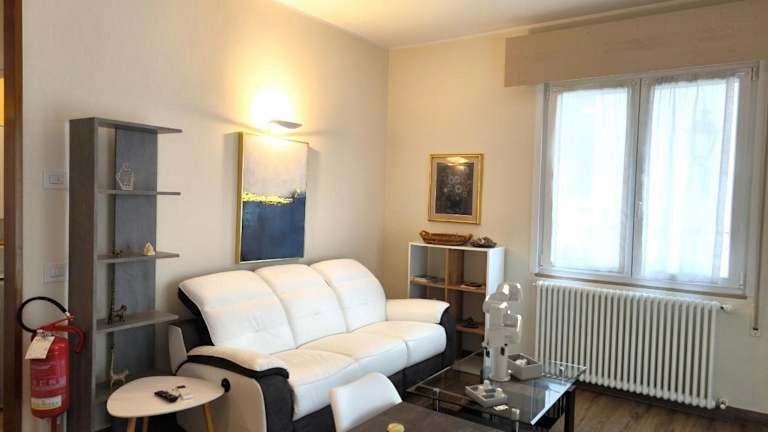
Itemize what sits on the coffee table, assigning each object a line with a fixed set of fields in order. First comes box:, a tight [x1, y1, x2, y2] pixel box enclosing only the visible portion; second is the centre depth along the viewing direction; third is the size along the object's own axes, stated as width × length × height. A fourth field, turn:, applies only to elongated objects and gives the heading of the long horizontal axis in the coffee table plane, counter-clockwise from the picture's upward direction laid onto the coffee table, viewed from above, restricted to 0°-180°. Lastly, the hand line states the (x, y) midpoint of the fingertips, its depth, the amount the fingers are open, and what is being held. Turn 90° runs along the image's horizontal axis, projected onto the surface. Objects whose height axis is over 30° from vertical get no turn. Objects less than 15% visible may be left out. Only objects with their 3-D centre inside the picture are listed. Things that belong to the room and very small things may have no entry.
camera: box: [515, 352, 528, 366], centre depth 333 cm, size 15×8×10 cm, turn 148°
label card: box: [493, 404, 509, 411], centre depth 281 cm, size 7×4×1 cm, turn 113°
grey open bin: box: [508, 352, 543, 381], centre depth 333 cm, size 15×22×8 cm
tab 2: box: [482, 379, 492, 389], centre depth 301 cm, size 4×4×5 cm
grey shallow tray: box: [464, 383, 510, 408], centre depth 294 cm, size 15×20×4 cm
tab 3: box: [494, 387, 504, 398], centre depth 290 cm, size 4×4×5 cm
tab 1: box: [476, 386, 486, 395], centre depth 292 cm, size 4×4×5 cm
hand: (495, 356), depth 302 cm, fingers open, 9 cm apart
